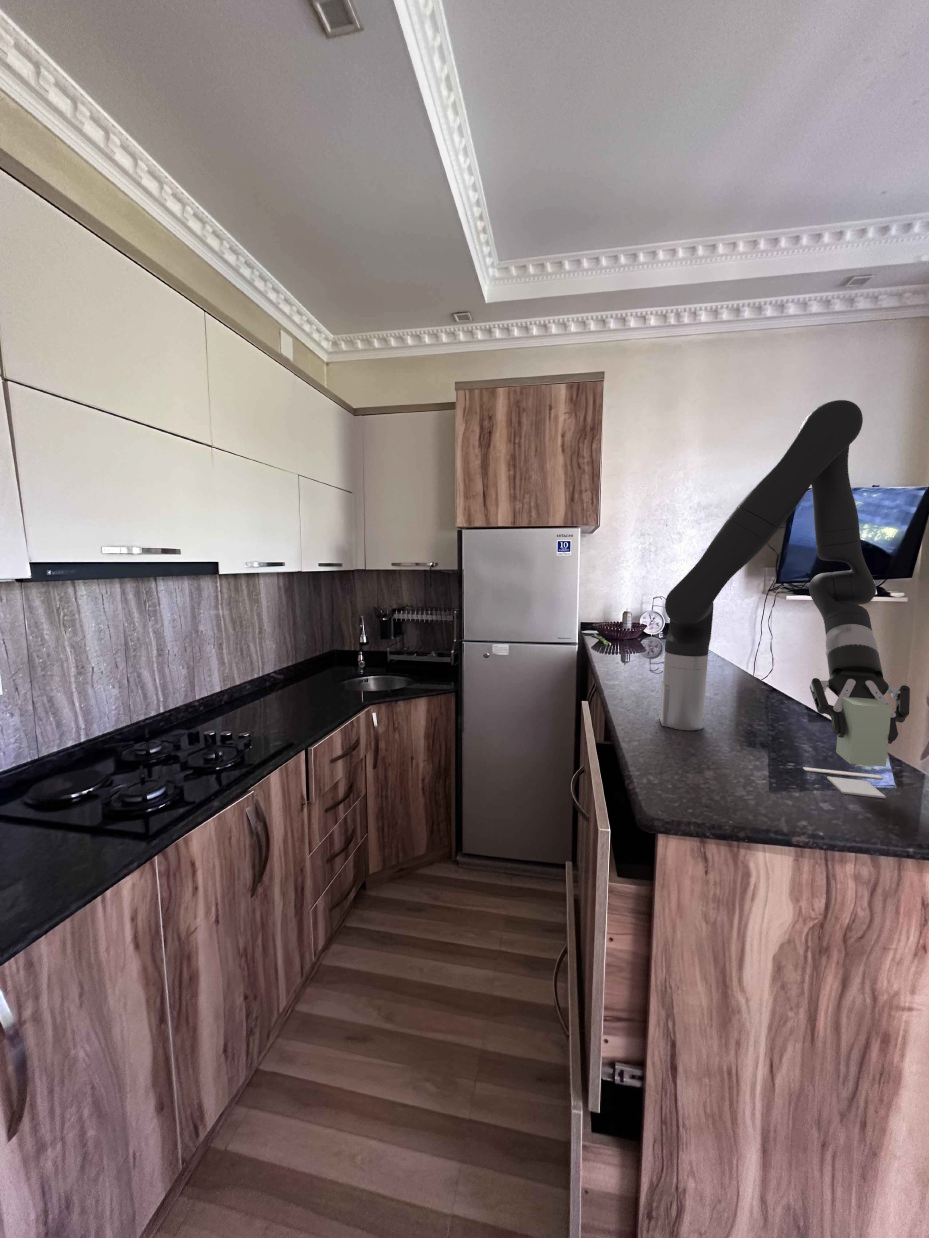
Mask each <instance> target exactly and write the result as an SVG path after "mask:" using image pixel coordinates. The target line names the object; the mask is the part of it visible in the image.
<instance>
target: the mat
mask: <svg viewBox="0 0 929 1238" xmlns="http://www.w3.org/2000/svg"><path fill="white" fill-rule="evenodd" d="M826 779H827V780H828V781H829V782H830V783H831V784H832V785H833V786H834V787H835V788H836V789H838V790H839V792H841V794H845V795H854V796H860V797H861V796H862V797H871V798H878V799H879V798H880V799H886V797H887V796H886V795H885V794H883V793H882V792H881V791H880V790H879V789H877V788H876V787H875V786H873V784H871V783H870V782H869V781H868V780H865V779H864V780H862V779H855V778H844V777H837V776H836V777H835V776H826Z"/></svg>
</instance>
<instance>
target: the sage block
mask: <svg viewBox="0 0 929 1238" xmlns="http://www.w3.org/2000/svg"><path fill="white" fill-rule="evenodd" d="M842 704H843V709H842V711H841V713H843V714H844V721H845V728H846V734H845V736H844V738H840V737H838V734H836V735H837V736H836V746H835V747H836V750H835V753H836V754H838V756H840V757H841V758H842V759H843V760H845V762H847V763H849V764H850V765H863V766H871V767H872V766H873V767H883V768H886V766H887V757H888V748H889V744H888V734H889V729H890V718H891V709H892V706H890V705H889V704H888V705H889V706H888V705H886V704H885V703H883V702H881V701H877V700H875V699H868V698H854V697H848V698H843V697H842Z"/></svg>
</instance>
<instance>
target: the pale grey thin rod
mask: <svg viewBox="0 0 929 1238" xmlns="http://www.w3.org/2000/svg"><path fill="white" fill-rule="evenodd" d="M802 769H803V770H804V771H805V772H813V773H823V774H829V775H830V774H831V775H832V774H833V775H840V776H841V775H842V776H848V777H849V776H851V777H860V778H869V779H876V780H883V779H884V778H883V777H882V776H881V775H880V774H870V773H861V772H854V771H853V772H850V771H843V770H833V769H823V768H817V767H816V768H814V767H806V766H805V767H804V766H803V767H802Z"/></svg>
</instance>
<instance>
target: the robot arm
mask: <svg viewBox="0 0 929 1238" xmlns="http://www.w3.org/2000/svg"><path fill="white" fill-rule="evenodd" d="M863 420H864V417H863V413H862V409H860V407H859V405H857V404H856V403H855V402H853V401H851V400H847V399H837V400H832V401H829V402H826V403H822V404H821V405H819V406H817V407H816V408H815V409H814V410H812V411H811V412H810V413H809V414H808V415H807V416H806V418H804V420H803V421H802V423H801V425H800V427H799V430H798V433H797V436H795V439H794V440H793V442H792V443H791V444H790V445H789V448H788V449H787V450H786V451H785V453H784V455H783V456H782V458H781V459H780V460H779V461H778V462H777V464H776V465H774V467H773V468H772V469H771V470H770V471H769V472H768V473H767V474H766V475H765V476H764V477H763V478H762V479H761V480H760V481H758V483H757V484H756V485H755V486H754V487H753V488H752V489H751V490H750V491H749V492H748V494H746V496H745V497H744V498H743V499H742V500H741V501H740V503H739V504H738V506H736V508H735V509H734V510H733V512H732V513H731V514H730V515H729V516H728V518H727V519H726V520H725V522H724V524H723V525H722V526H721V528H720V529H719V531H718V532H717V533H716V534H715V536H714V538H713V539H712V540H711V542H710V544H709V545H708V547H707V548H706V550H705V552H704V553H703V555H702V556H701V557H700V559H698V562H696V564H695V565H694V566H693V568H691V569H690V570H689V572H688V573H686V575H685V576H684V577H683V578H682V579H681V580H680V581H679V582H678V583H677V584H676V585H675V586H674V587H673V588H671V590H670V591H669V592H668V594H667V595H666V598H665V601H664V609H665V614H666V615H667V617H668V618H669V623H668V631H667V635H666V638H665V641H664V658H663V670H662V671H663V672H662V673H663V674H662V680H661V681H660V682H661V686H660V699H659V701H660V702H659V716H658V718H659V719H658V720H659V722H660V724H661V726H662V727H668V728H671V729H675V730H680V731H699V730H702V729H703V728H704V720H705V716H704V715H705V703H706V691H707V677H708V676H707V673H708V664H709V663H708V661H709V660H708V659H709V648H710V643H711V638H712V631H713V630H712V627H713V619H714V618H713V617H714V601H715V600H716V598H717V597H718V596H719V594H720V593H721V591H723V588H724V587H725V586H726V584H727V583H728V582H729V581H730V580H731V579H732V577H734V575H736V574H737V573H738V572H739V571H741V569H743V568H744V567H745V566H746V565H747V564H748V563H749V562H750V561H751V560H752V559H753V558H755V556H757V554H758V553H760V552H761V550H763V549H764V547H766V545H767V544H768V543H769V542H770V541H771V539H772V538H773V537H774V536H775V535H776V533H777V532H778V531H779V530H780V528H781V527H782V526H783V525H784V524H785V522H786V520H787V519H789V517H790V515H791V514H792V513H793V512H794V510H795V508H796V507H797V506H798V504H799V503H800V502H801V500H802V499H803V497H804V496H805V494H806V493H807V492H808V489H809V488H810V487H811V493H812V502H813V504H812V505H813V506H812V507H813V519H814V520H813V521H814V523H813V525H814V534H815V545H816V553H817V555H816V556H817V558H818V559H819V560H822V561H827V562H841V563H845V564H847V565H848V566H849V567H850V570H841V571H833V572H832V571H831V572H821V573H819V574H817V575H815V576H814V577H813V578H812V579H811V580H810V582H809V586H808V591H809V595H810V598H811V599H812V602H813V604H814V605H815V606H816V608H817V609H818V611H819V612H820V615H821V618H822V620H823V625H824V631H825V650H826V651H825V657H826V658H827V666H828V675H829V678H828V680H821V679H820V678H818V677H814V678H812V679H811V682H810V685H809V689H810V692H811V696H812V698H813V703H814V705H815V708H816V711H817V713H819V714H821V715H827V716H829V717H830V718H831V728H832V732H833V734H835V735H838V737H840V738H844V736H845V734H846V728H845V721H844V714H843V713H841V711H842V709H843V704H842V697H843V698H848V697H854V698H868V699H875V700H877V701H881V702H883V703H885V704H886V705H888V706H890V704H889V701H888V699H887V698H886V697H885V695H886V693H888V694H889V695H890V696H891V698H892V700H893V701H895V711H894V709H892V708H891V718H890V729H889V734H888V745H889V744H892V743H893V742H895V741H896V740H897V738H898V736H899V732H898V727H897V723H899V724H900V723H901V724H902V723H904V722H905V721H906V719H907V717H909V716H910V704H911V703H910V700H911V697H910V696H911V688H910V687H909V686H908V685H901V686H900V687H898V686H893V685H889V683H888V682H887V681H886V680H885V679H884V673H883V669H882V663H881V658H880V657H881V656H880V652H879V649H878V648H879V647H878V644H877V640H876V637H875V635H874V632H873V627H872V623H871V622H872V621H871V617H870V613H869V611H868V610H867V608H865V607H863V606H862V605H866V604H869V603H871V601H873V599H874V598H875V596H876V591H877V586H876V582H875V580H874V578H873V576H872V574H871V572H870V569H869V568H868V565H867V563H866V561H865V557H864V555H863V551H862V544H861V533H860V532H861V530H860V521H859V514H858V509H857V505H856V500H855V497H854V495H853V494H854V493H853V490H852V485H851V482H850V473H849V451H850V446H851V444H852V443H853V442H854V441H855V440H856V438H857V437H858V436H859V435H860V432H861V430H862V426H863ZM827 689H829V690H830V691H831V692H832V693H833V694H834V695H835V696H836V697H837V700H836V701H835V703H834V705H832V704H829V702H828V699H827V696H826V693H825V692H826V690H827Z"/></svg>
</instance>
